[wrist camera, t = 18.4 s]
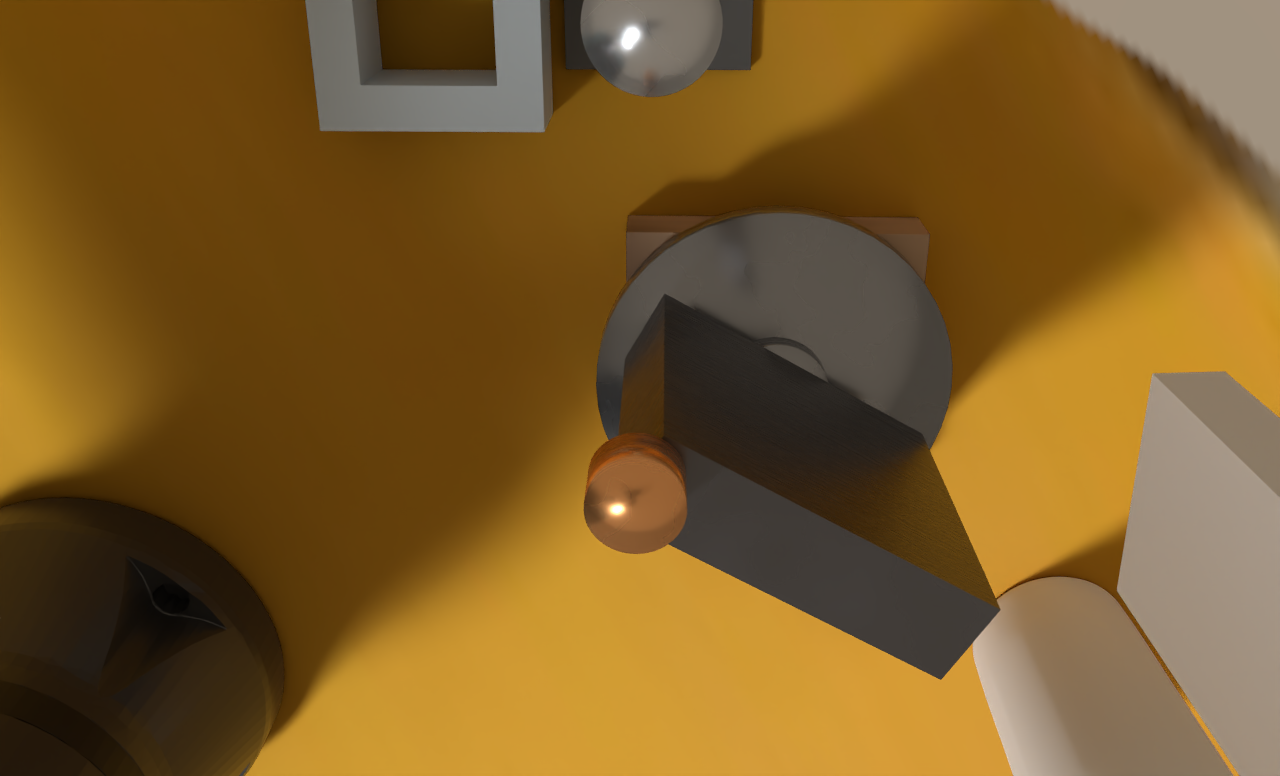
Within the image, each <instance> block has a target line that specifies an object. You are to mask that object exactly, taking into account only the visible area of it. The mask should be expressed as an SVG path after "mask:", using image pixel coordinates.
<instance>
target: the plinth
mask: <svg viewBox="0 0 1280 776" xmlns="http://www.w3.org/2000/svg"><path fill="white" fill-rule="evenodd" d="M712 217H716V216H647V215H628V222H627V231H626V278H627V281H628V280H629V279H630V277H631V276H632V274H633V273H634V272H635V271H636V270H637V269H638V268H639V267H640V265H641V264H642V263H643V262H644V261H645V260H646V259H647V258H648V257H649V256H650V255H651V254H652V253H654V252H655V251H656V250H657V249H658V248H660V247H661V246H662V245H663V244H664V243H665V242H667V241H669V240H670V239H672V238H673V237H675V236H676V235H678V234H679V233H681V232H682V231H684V230H686V229H688V228H690V227H692V226H694V225H696V224H698V223H700V222H702V221H705V220H707V219H709V218H712ZM844 218H847V219H849V220H851V221H853V222H855V223H857V224H859V225H861V226H863V227H866V228H868V229H869V230H871V231H872V232H874V233H875V234H877V235H878V236H880V237H881V238H883V239H884V240H886V241H887V242H889V243H890V244H891V245H892V246H893V247H894V248H895V249H896V250H897V251H899V252H900V253H901V254H902V255H903V256H904V257H905V258H906V259H907V260H908V262H909V263H910V264H911V265H912V266H913V268H914V269H915V270H916V271H917V273H918V274H919V275H920V277H921V278H922V280H923V282H924V283H925V275H926V266H927V257H928V248H929V239H930V234H929V232H928V231H927V230H926V228H925V227H924V225H923V224H922V222H921V221H920V220H919V218H918V217H844Z"/></svg>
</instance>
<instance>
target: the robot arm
mask: <svg viewBox="0 0 1280 776" xmlns="http://www.w3.org/2000/svg"><path fill="white" fill-rule="evenodd" d="M1117 592H1118V593H1119V595H1120V596H1121V598H1122V599H1123V601H1124V602H1125V604H1126V605H1127V607H1128V608H1129V610H1130V611H1131V613H1132V614H1133V616H1134V617H1135V619H1136V620H1137V622H1138V623H1139V625H1140V626H1141V628H1142V629H1143V631H1144V632H1145V634H1146V635H1147V637H1148V638H1149V640H1150V641H1151V643H1152V644H1153V646H1154V647H1155V649H1156V650H1157V652H1158V653H1159V655H1160V656H1161V658H1162V660H1163V661H1164V663H1165V664H1166V666H1167V667H1168V669H1169V670H1170V672H1171V673H1172V675H1173V676H1174V678H1175V679H1176V681H1177V682H1178V684H1179V685H1180V687H1181V688H1182V690H1183V691H1184V693H1185V694H1186V696H1187V697H1188V699H1189V700H1190V702H1191V703H1192V705H1193V706H1194V708H1195V709H1196V711H1197V712H1198V714H1199V715H1200V717H1201V718H1202V720H1203V721H1204V723H1205V724H1206V726H1207V727H1208V729H1209V730H1210V732H1211V733H1212V735H1213V736H1214V738H1215V739H1216V741H1217V742H1218V744H1219V745H1220V747H1221V748H1222V750H1223V751H1224V753H1225V754H1226V756H1227V757H1228V759H1229V760H1230V762H1231V763H1232V765H1233V766H1234V768H1235V769H1236V771H1237V772H1238V774H1239V775H1240V776H1280V418H1279V417H1278V416H1276V415H1275V414H1274V413H1273V412H1272V411H1271V410H1269V409H1268V408H1267V407H1266V406H1265V405H1263V404H1262V403H1261V402H1260V401H1259V400H1258V399H1256V398H1255V397H1254V396H1253V395H1252V394H1251V393H1249V392H1248V391H1247V390H1246V389H1245V388H1243V387H1242V386H1241V385H1240V384H1239V383H1238V382H1236V381H1235V380H1234V379H1233V378H1232V377H1231V376H1229V375H1228V374H1227V373H1226V372H1191V373H1155V374H1152V380H1151V386H1150V392H1149V398H1148V404H1147V410H1146V416H1145V422H1144V428H1143V434H1142V440H1141V446H1140V452H1139V458H1138V464H1137V471H1136V477H1135V483H1134V489H1133V495H1132V501H1131V507H1130V513H1129V519H1128V525H1127V531H1126V537H1125V543H1124V549H1123V555H1122V561H1121V567H1120V573H1119V579H1118V585H1117ZM283 689H284V663H283V656H282V651H281V646H280V643H279V639H278V636H277V633H276V631H275V628H274V626H273V623H272V621H271V619H270V617H269V615H268V613H267V611H266V609H265V608H264V606H263V604H262V603H261V601H260V600H259V598H258V597H257V595H256V594H255V592H254V591H253V590H252V588H251V587H250V586H249V585H248V583H247V582H246V581H245V580H244V579H243V577H242V576H241V575H240V574H239V573H238V572H237V571H236V570H235V569H234V568H233V567H232V566H231V565H230V564H229V563H228V562H227V561H226V560H225V559H223V558H222V557H221V556H220V555H219V554H218V553H216V552H215V551H214V550H212V549H211V548H210V547H208V546H207V545H206V544H204V543H203V542H201V541H200V540H198V539H197V538H195V537H194V536H192V535H191V534H189V533H187V532H186V531H184V530H182V529H180V528H179V527H177V526H175V525H173V524H171V523H169V522H167V521H164V520H162V519H160V518H157V517H155V516H153V515H150V514H147V513H145V512H142V511H139V510H136V509H133V508H129V507H126V506H122V505H118V504H114V503H109V502H104V501H98V500H90V499H81V498H47V499H36V500H30V501H24V502H20V503H16V504H11V505H8V506H5V507H2V508H0V776H245V775H246V773H247V772H248V771H249V769H250V768H251V767H252V765H253V763H254V762H255V760H256V759H257V757H258V755H259V753H260V751H261V749H262V747H263V745H264V743H265V740H266V738H267V736H268V734H269V732H270V730H271V727H272V725H273V723H274V721H275V719H276V716H277V714H278V711H279V708H280V704H281V701H282V695H283Z"/></svg>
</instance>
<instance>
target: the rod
mask: <svg viewBox="0 0 1280 776" xmlns="http://www.w3.org/2000/svg"><path fill="white" fill-rule="evenodd" d="M722 28H723V17H722V10H721V5H720V1H719V0H584V2H583V6H582V11H581V34H582V40H583V44H584V47H585V50H586V52H587V55H588V57H589V59H590V61H591V62H592V64H593V65H594V67H595V68H596V69H597V71H598V72H599V73H600V74H601V75H602V76H603V77H604V78H605V79H606V80H607V81H608V82H610V83H611V84H612V85H614V86H615V87H617V88H619V89H621V90H623V91H625V92H628V93H630V94H634V95H638V96H646V97H659V96H665V95H669V94H672V93H676V92H678V91H680V90H682V89H684V88H686V87H688V86H689V85H691V84H692V83H693V82H695V81H696V80H697V79H698V78H699V77H700V76H701V75H702V74H703V73H704V72H705V71H706V70H707V68H708V67H709V66H710V64H711V63H712V61H713V59H714V57H715V55H716V53H717V50H718V48H719V44H720V40H721V36H722Z"/></svg>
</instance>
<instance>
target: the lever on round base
mask: <svg viewBox="0 0 1280 776" xmlns="http://www.w3.org/2000/svg"><path fill="white" fill-rule="evenodd" d="M951 387H952V356H951V346H950V341H949V337H948V333H947V329H946V325H945V322H944V320H943V317H942V315H941V313H940V310H939V308H938V305H937V303H936V301H935V300H934V298H933V297H932V295H931V293H930V292H929V290H928V288H927V287H926V285H925V283H924V282H923V280H922V278H921V277H920V275H919V274H918V273H917V271H916V270H915V269H914V268H913V266H912V265H911V264H910V263H909V262H908V260H907V259H906V258H905V257H904V256H903V255H902V254H901V253H900V252H899V251H897V250H896V249H895V248H894V247H893V246H892V245H891V244H890V243H889V242H887V241H886V240H884V239H883V238H881V237H880V236H878V235H877V234H875V233H874V232H872V231H871V230H869V229H868V228H866V227H863V226H861V225H859V224H857V223H855V222H853V221H851V220H849V219H847V218H844V217H841V216H838V215H835V214H832V213H829V212H826V211H821V210H815V209H810V208H805V207H795V206H779V205H778V206H762V207H752V208H747V209H741V210H736V211H731V212H728V213H725V214H722V215H719V216H716V217H712V218H709V219H707V220H705V221H702V222H700V223H698V224H696V225H694V226H692V227H690V228H688V229H686V230H684V231H682V232H681V233H679V234H678V235H676V236H675V237H673V238H672V239H670V240H669V241H667V242H665V243H664V244H663V245H662V246H661V247H660V248H658V249H657V250H656V251H655V252H654V253H652V254H651V255H650V256H649V257H648V258H647V259H646V260H645V261H644V262H643V263H642V264H641V265H640V267H639V268H638V269H637V270H636V271H635V272H634V273H633V274H632V276H631V277H630V279H629V280H628V281H627V283H626V284H625V286H624V287H623V289H622V290H621V292H620V293H619V295H618V297H617V299H616V301H615V303H614V305H613V307H612V309H611V311H610V313H609V316H608V319H607V322H606V325H605V328H604V331H603V335H602V340H601V345H600V350H599V356H598V363H597V382H596V388H597V398H598V407H599V411H600V415H601V420H602V424H603V427H604V430H605V432H606V435H607V437H608V441H607V442H605V443H604V444H603V445H602V446H601V447H600V448H599V449H598V450H597V451H596V453H595V454H594V456H593V457H592V459H591V462H590V465H589V470H588V477H587V485H586V492H585V500H584V516H585V520H586V523H587V525H588V527H589V529H590V530H591V532H592V533H593V534H594V536H595V537H596V538H597V539H598V540H599V541H601V542H602V543H603V544H605V545H606V546H608V547H610V548H612V549H614V550H617V551H620V552H624V553H632V554H641V553H648V552H652V551H656V550H658V549H660V548H662V547H664V546H666V545H667V544H669V545H671V546H673V547H675V548H677V549H679V550H681V551H683V552H685V553H687V554H689V555H691V556H693V557H695V558H697V559H699V560H701V561H703V562H705V563H707V564H709V565H711V566H713V567H715V568H717V569H719V570H721V571H723V572H725V573H727V574H729V575H731V576H733V577H735V578H737V579H739V580H741V581H743V582H745V583H747V584H749V585H751V586H753V587H755V588H757V589H759V590H761V591H763V592H765V593H767V594H769V595H771V596H773V597H776V598H778V599H780V600H782V601H784V602H786V603H788V604H790V605H792V606H794V607H796V608H798V609H800V610H802V611H804V612H806V613H808V614H810V615H812V616H814V617H816V618H818V619H820V620H822V621H824V622H826V623H828V624H830V625H832V626H834V627H836V628H838V629H840V630H842V631H844V632H846V633H848V634H850V635H852V636H854V637H856V638H858V639H860V640H862V641H864V642H866V643H868V644H870V645H872V646H874V647H876V648H878V649H880V650H882V651H884V652H886V653H888V654H890V655H892V656H894V657H896V658H898V659H900V660H902V661H904V662H906V663H908V664H910V665H912V666H914V667H916V668H918V669H920V670H922V671H924V672H926V673H928V674H930V675H932V676H934V677H936V678H938V679H940V680H941V679H942V678H943V677H944V676H945V675H946V673H947V672H948V671H949V670H950V669H951V668H952V666H953V665H954V664H955V663H956V662H957V661H958V659H959V658H960V657H961V656H962V655H963V653H964V652H965V651H966V650H967V649H968V648H969V646H970V645H971V644H972V643H973V642H974V641H975V639H976V638H977V637H978V636H979V635H980V634H981V632H982V631H983V630H984V629H985V628H986V627H987V625H988V624H989V623H990V622H991V621H992V620H993V618H994V617H995V616H996V615H997V614H998V612H999V611H1000V610H1001V609H1000V607H999V605H998V602H997V600H996V598H995V596H994V593H993V591H992V589H991V587H990V585H989V582H988V580H987V578H986V576H985V573H984V571H983V569H982V567H981V564H980V562H979V560H978V558H977V555H976V553H975V551H974V549H973V546H972V544H971V542H970V540H969V537H968V535H967V533H966V531H965V529H964V526H963V524H962V522H961V520H960V517H959V515H958V513H957V511H956V508H955V506H954V504H953V502H952V499H951V497H950V495H949V493H948V490H947V488H946V486H945V484H944V481H943V479H942V477H941V475H940V473H939V470H938V468H937V466H936V464H935V461H934V459H933V457H932V455H931V452H930V448H931V447H932V445H933V443H934V441H935V439H936V437H937V435H938V433H939V430H940V428H941V426H942V423H943V420H944V417H945V414H946V411H947V408H948V403H949V398H950V392H951Z"/></svg>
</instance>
